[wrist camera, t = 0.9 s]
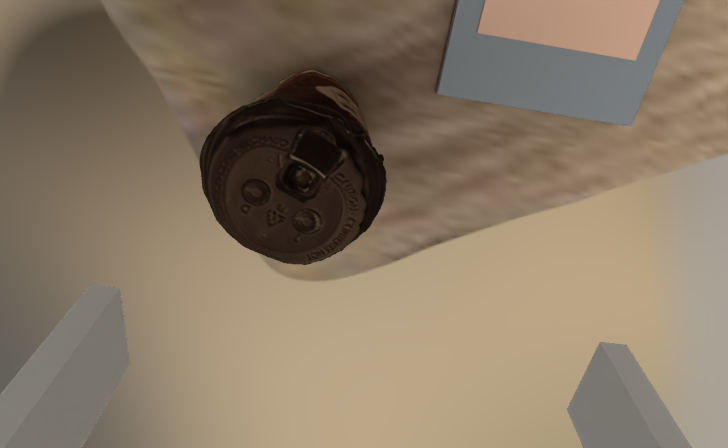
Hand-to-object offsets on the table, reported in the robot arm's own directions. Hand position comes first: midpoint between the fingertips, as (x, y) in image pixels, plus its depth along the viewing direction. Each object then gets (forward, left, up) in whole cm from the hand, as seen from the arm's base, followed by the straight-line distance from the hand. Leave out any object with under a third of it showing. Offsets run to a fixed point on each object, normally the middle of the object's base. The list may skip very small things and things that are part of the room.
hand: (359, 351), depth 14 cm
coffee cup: (0, -3, -22) cm, 22 cm away
